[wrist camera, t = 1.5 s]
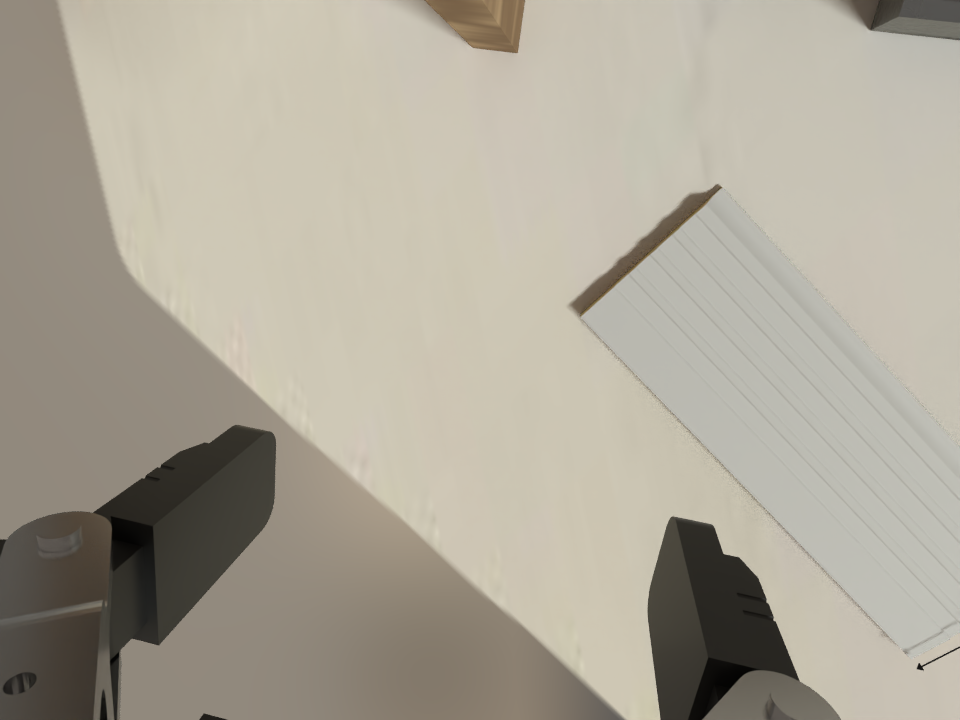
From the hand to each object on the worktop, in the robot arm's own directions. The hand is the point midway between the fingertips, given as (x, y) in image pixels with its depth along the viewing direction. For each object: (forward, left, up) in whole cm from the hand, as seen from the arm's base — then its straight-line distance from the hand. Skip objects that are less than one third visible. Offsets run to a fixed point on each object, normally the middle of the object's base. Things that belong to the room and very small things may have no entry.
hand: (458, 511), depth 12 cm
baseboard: (-15, +12, -27) cm, 33 cm away
